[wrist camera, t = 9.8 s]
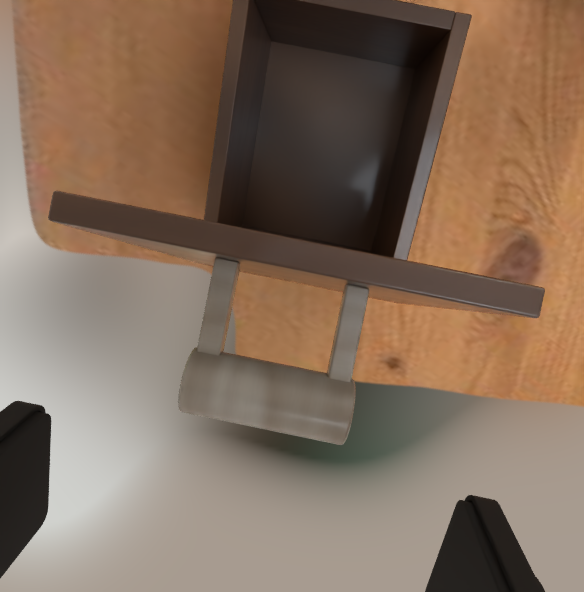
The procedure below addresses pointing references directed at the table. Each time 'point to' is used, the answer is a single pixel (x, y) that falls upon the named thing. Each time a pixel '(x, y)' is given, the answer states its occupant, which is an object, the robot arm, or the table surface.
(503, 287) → the lid
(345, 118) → the chest
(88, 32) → the table surface
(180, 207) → the table surface
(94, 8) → the table surface
